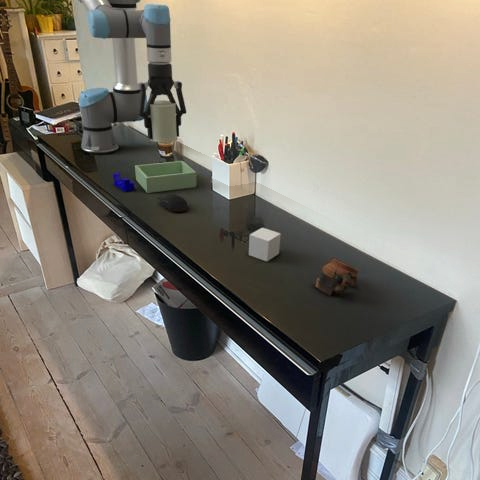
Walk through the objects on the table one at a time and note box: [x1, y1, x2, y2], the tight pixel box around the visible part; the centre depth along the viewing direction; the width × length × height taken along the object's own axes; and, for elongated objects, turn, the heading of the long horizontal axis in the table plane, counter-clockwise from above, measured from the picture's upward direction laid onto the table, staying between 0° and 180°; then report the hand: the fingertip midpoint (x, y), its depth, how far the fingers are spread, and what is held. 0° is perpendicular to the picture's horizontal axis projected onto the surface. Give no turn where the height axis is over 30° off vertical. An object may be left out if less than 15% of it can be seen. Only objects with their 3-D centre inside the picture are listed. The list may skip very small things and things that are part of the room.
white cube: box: [248, 227, 282, 262], centre depth 131 cm, size 6×6×6 cm
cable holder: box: [112, 172, 135, 193], centre depth 170 cm, size 8×4×4 cm, turn 39°
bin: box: [134, 160, 197, 194], centre depth 174 cm, size 14×18×5 cm
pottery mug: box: [315, 257, 359, 296], centre depth 117 cm, size 12×10×8 cm
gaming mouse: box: [159, 193, 189, 213], centre depth 158 cm, size 6×15×4 cm, turn 36°
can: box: [149, 99, 178, 144], centre depth 163 cm, size 9×9×12 cm
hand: (163, 136), depth 166 cm, fingers closed on can, 9 cm apart
